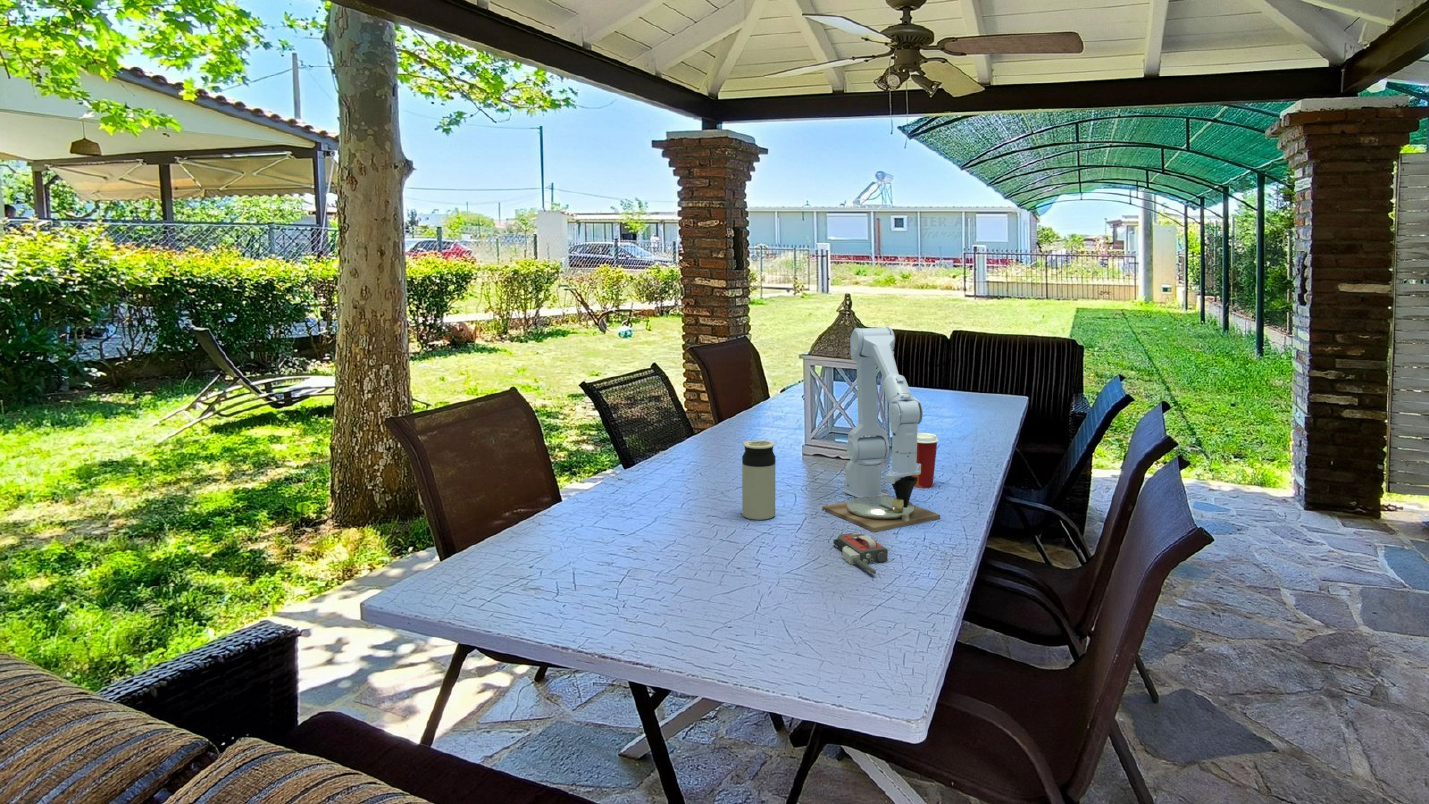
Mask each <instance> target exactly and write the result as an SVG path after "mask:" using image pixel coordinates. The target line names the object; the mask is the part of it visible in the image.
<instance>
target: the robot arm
mask: <svg viewBox="0 0 1429 804" xmlns="http://www.w3.org/2000/svg"><path fill="white" fill-rule="evenodd" d="M849 340H850V341H849V343H850V359H851V360H852V361H854V362H855V365H856V382H857V383H856V386H857V388H856V391H857V418H858V422H857V425H856V426H855V427H854V428H853V429H851V430H850V431H849V432H848V434H847V436H848V437H847V443H846V452H847V453H846V454H847V457H848V459H849V461H848V462H847V463H846V467H845V475H844V477H845V478H844V479H845V481H844V482H845V483H844V487H845V488H844V489H842V493H845V494H846V495H847V494H848V495H850V496H853V497H854V498H859V497H866V496H882V495H887V496H889V494H888V493H886V492H882V468H883V467H882V464H884V463H885V460H886V459H887V458H888V456H889V455H890V443H889V439H888V433H887V431H886V430H885V429H884V428H882V427H881V426H880V425H878V424H879V423H878V422H879V421H878V391H877V389H878V388H877V367H878V369H879V371H880V373H881V375H882V377H883V379H884V380H883V382H882V385H881V386H882V389H883V392H884V394H885V397H886V400H887V403H888V404H889V405H888V406H889V407H888V408H889V409H888V420H889V423H890V426H889V428H890V432H892V434H891V435H892V436H891V437H892V440H891V441H892V442H891V468H890V470H889V471H888V473H887V474H885V484H891V486H892V488H893V490H894V493H895V498H903V499H904V505H903V507H904V508H907V507H908V503H909V502H910V499H911V495H912V492H913V490H914V488H915V487H914V486H915V484H916V482H917V480H918V478H917V477H912V476H911V475H919V474H921V464H918V463H916V461H917V433H918V430H919V429H918V425H920V424H921V423H922V421H923V417H924V415H923V414H924V412H923V406H922V403H921V401H920V400H919V399H918V398H917V397H916V396H913V395H912V393H911V389H910V386H909V384H908V382H907V379H906V378H905V376H904V375H901V374H899V371H898V367H897V364H896V360H895V355H894V353H893V351H894V350H895V349H894V348H895V343H896V336H895V332H894V330H893V329H892V328H891V327H889V326H886V327H868V328H861V327H860V328H859V327H855V328H854V329H853V331H852V333H851V335H850V338H849Z"/></svg>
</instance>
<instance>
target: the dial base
mask: <svg viewBox="0 0 1429 804" xmlns="http://www.w3.org/2000/svg"><path fill="white" fill-rule="evenodd" d="M882 496H885V497H891V495H888V496H887V495H882ZM847 503H848V501H843V502H838V503H833V504H827V505H823V506H822V507H821V510H822V511H823V510H825V511H824V512H826V511H827V512H826V513H828V512H829V514H831V515H833V516H835V517H837V518H840V519H843V520H844V521H847V522H849V523H851V524H854V525H857V526H859V527H862V528H864V529H866V530H868V531H870V532H873V533H876V532H877V533H878V532H881V531H886V530H893V529H896V528H902V527H907V526H911V525H912V526H913V525H915V524H921V523H926V521H927V522H931V521H930V520H932V521H936V520H940V519H941V514H940V513H936V512H933V511H931V510H928V509H925V508H923V507H920V506H917V505H914V504H913V505H914V513H913V514H911V515H910V516H909V515H908V514H906V513H904V514H902V518H897V519H874V518H867V517H862V516H858V515H855V514H853V513H851V512H849V511H848V510H847ZM935 519H936V520H935Z"/></svg>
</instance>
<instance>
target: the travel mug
mask: <svg viewBox="0 0 1429 804" xmlns="http://www.w3.org/2000/svg"><path fill="white" fill-rule="evenodd" d="M742 446H743V447H744V452H743V454H742V458H741V460H742V461H741V462H742V463H741V466H742V468H741V469H742V470H741V471H742V473H741V477H742V478H741V479H742V481H741V482H742V483H741V486H742V487H741V488H742V492H741V493H742V496H741V499H742V500H741V501H742V503H741V504H742V505H741V506H742V510H741V511H742V517H745V518H746V519H748V520H754V521H765V519H766V520H770V519H772V518H773V517H775V516H776V454H775V452H774V451H773V450H774V447H775V442H773V441H770V440H763V439H762V440H761V439H760V440H759V439H758V440H747V441H745V442H743V443H742Z"/></svg>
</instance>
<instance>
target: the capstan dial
mask: <svg viewBox="0 0 1429 804" xmlns="http://www.w3.org/2000/svg"><path fill="white" fill-rule="evenodd" d="M847 502H848V503H847V510H848V511H849V512H851V513H853V514H855V515H858V516H862V517H867V518H874V519H897V518H902V514H904V513H906V514H908V515H909V516H910V515H911V514H913V513H914V504H913V503H912V502H910V501H909V503H908V507H907V508H904V507H903V505H904V499H903V498H896V497H894V496H893V497H892V496H890V497H885V496H866V497H859V498H858V497H854V498H853V499H850V500H849V501H847Z"/></svg>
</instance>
